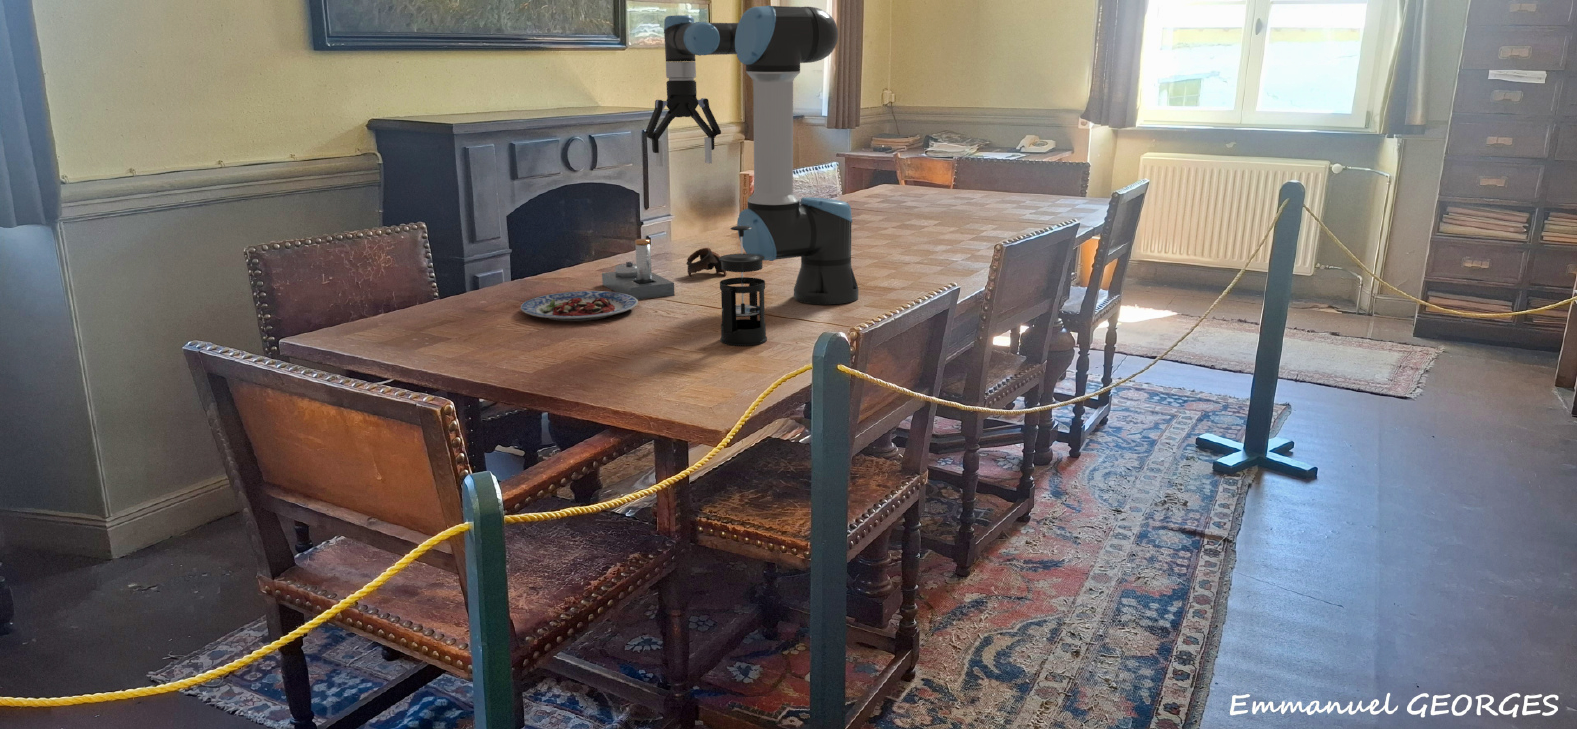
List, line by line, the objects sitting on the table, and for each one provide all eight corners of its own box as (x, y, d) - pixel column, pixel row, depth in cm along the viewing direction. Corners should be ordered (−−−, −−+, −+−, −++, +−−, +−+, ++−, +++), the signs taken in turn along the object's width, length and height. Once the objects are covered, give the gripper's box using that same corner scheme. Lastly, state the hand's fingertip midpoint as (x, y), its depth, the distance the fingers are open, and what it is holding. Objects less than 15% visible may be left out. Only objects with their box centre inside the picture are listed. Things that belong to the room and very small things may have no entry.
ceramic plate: (655, 303, 251) (655, 290, 251) (609, 330, 228) (608, 316, 227) (555, 297, 258) (554, 285, 257) (499, 323, 234) (498, 309, 233)
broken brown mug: (730, 280, 277) (715, 254, 273) (697, 296, 278) (682, 271, 274) (727, 260, 287) (712, 235, 283) (696, 275, 288) (681, 251, 284)
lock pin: (654, 294, 259) (652, 240, 256) (640, 296, 258) (638, 241, 254) (649, 291, 262) (646, 238, 259) (635, 293, 261) (633, 239, 257)
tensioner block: (674, 295, 258) (673, 270, 257) (630, 300, 253) (629, 275, 252) (644, 280, 275) (642, 256, 273) (602, 284, 270) (601, 261, 268)
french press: (736, 331, 224) (733, 220, 218) (776, 336, 220) (775, 223, 214) (707, 345, 214) (703, 229, 208) (748, 350, 210) (746, 232, 204)
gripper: (720, 78, 283) (722, 160, 289) (629, 80, 272) (633, 165, 278) (732, 78, 277) (734, 162, 282) (639, 80, 265) (643, 168, 271)
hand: (684, 164), depth 280 cm, fingers open, 13 cm apart
